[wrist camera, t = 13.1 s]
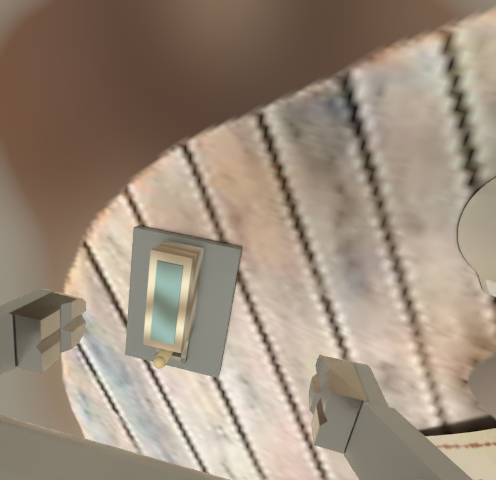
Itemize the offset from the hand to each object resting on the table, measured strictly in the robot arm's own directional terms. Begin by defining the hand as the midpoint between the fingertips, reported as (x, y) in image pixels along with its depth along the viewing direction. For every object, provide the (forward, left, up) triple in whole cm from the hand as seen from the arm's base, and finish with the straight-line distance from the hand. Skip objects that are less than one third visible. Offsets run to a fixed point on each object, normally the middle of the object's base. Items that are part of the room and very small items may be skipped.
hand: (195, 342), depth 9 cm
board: (+10, +16, -29) cm, 35 cm away
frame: (+10, +15, -28) cm, 33 cm away
